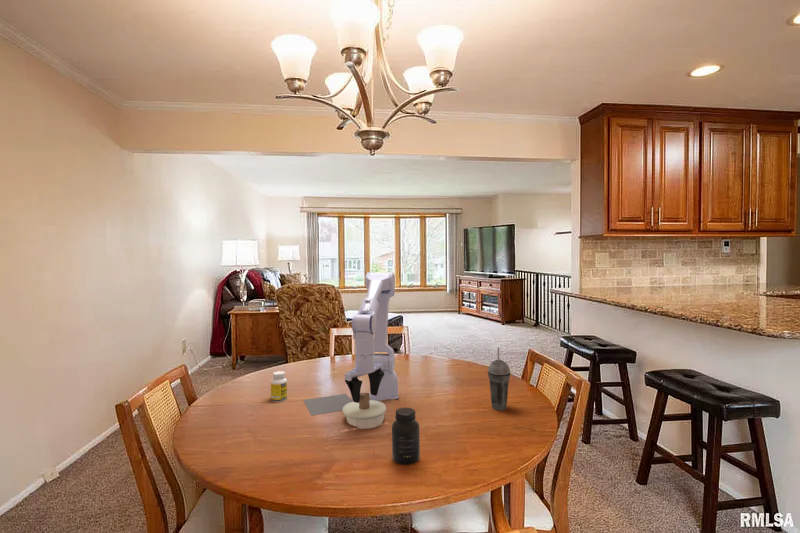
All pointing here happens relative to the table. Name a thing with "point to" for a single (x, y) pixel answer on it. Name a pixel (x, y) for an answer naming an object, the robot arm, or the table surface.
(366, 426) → the bowl
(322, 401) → the mat
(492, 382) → the beverage cup
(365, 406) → the lid
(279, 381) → the supplement bottle
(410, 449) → the supplement bottle
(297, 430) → the table surface
